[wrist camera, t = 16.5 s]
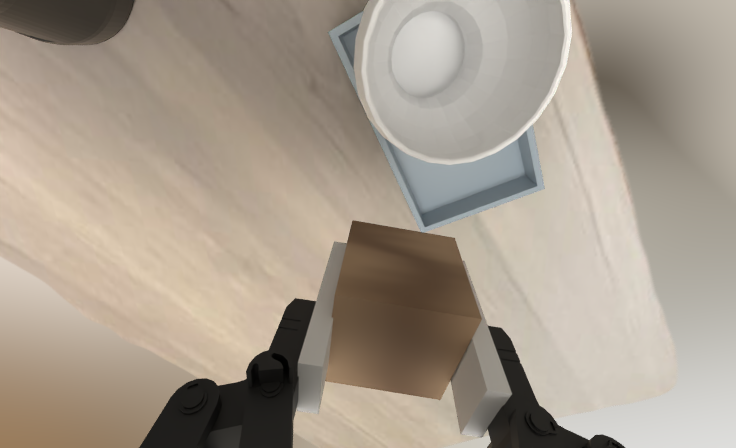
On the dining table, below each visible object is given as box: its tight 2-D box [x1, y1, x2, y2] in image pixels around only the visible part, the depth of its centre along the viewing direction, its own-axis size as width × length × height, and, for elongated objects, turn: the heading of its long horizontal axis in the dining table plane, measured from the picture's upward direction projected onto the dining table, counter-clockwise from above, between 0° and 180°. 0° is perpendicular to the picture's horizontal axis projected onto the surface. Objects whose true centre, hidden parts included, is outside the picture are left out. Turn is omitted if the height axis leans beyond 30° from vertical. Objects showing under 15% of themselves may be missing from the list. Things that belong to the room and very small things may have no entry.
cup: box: [354, 0, 572, 165], centre depth 20 cm, size 11×11×15 cm
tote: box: [328, 11, 545, 233], centre depth 28 cm, size 21×13×4 cm, turn 26°
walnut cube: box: [325, 221, 482, 400], centre depth 13 cm, size 5×5×5 cm
